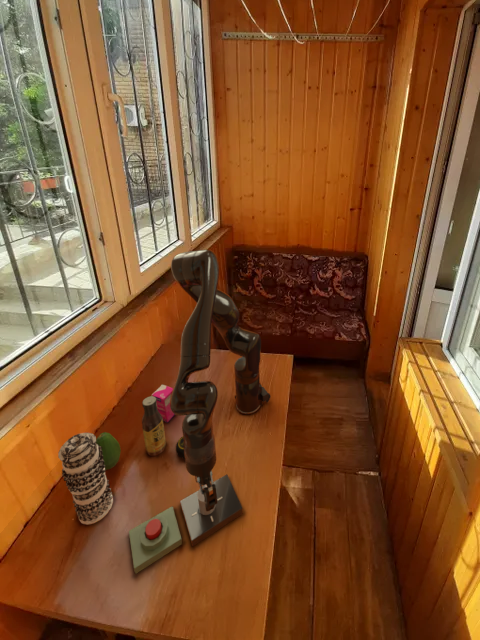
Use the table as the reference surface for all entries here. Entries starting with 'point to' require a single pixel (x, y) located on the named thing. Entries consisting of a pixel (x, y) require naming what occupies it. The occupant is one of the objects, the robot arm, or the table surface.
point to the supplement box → (164, 402)
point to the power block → (154, 540)
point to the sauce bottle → (153, 427)
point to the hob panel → (222, 514)
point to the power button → (153, 529)
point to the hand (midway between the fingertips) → (204, 493)
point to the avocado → (109, 449)
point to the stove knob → (203, 503)
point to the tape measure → (180, 448)
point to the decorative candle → (86, 477)
